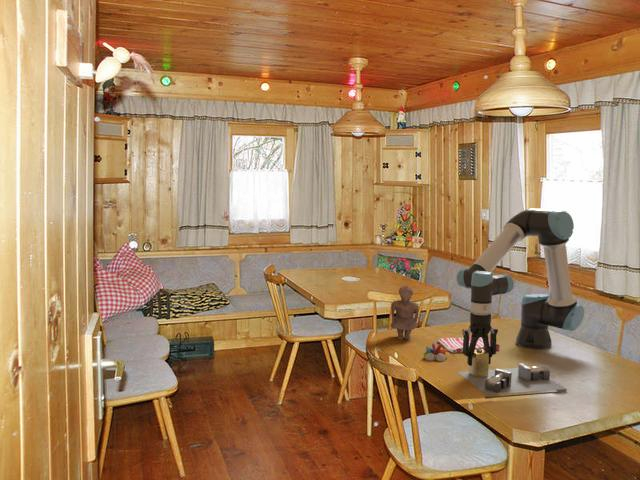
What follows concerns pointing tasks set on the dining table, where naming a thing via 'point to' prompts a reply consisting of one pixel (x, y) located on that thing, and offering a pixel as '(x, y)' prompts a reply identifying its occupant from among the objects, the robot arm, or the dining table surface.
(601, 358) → the dining table surface
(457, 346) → the dish towel
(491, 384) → the grey notched block
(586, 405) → the dining table surface
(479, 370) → the tan rectangular block
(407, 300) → the clay figurine
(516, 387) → the grey base plate
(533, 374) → the grey metal block
